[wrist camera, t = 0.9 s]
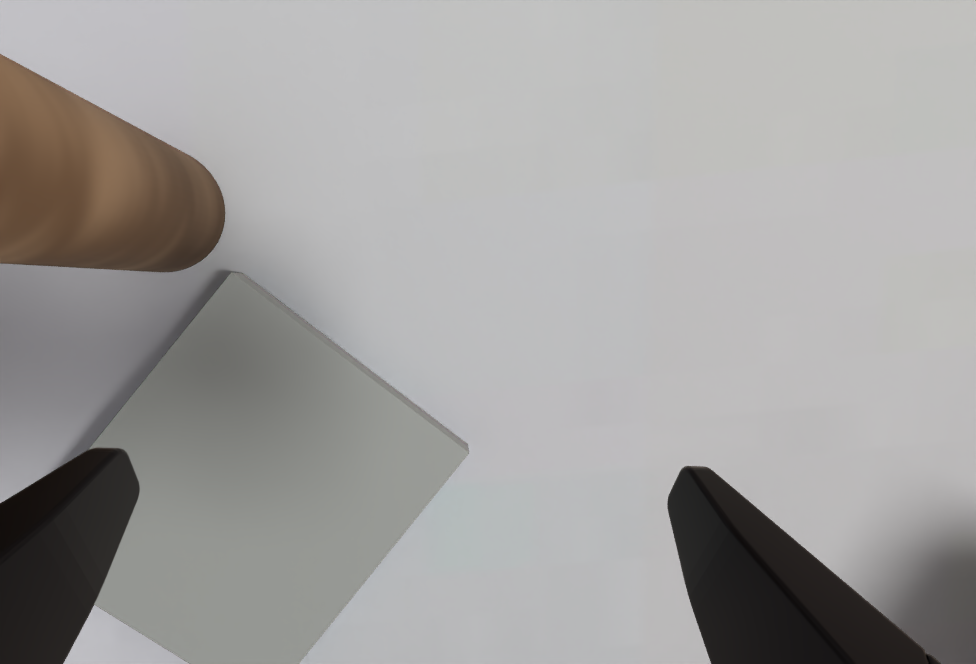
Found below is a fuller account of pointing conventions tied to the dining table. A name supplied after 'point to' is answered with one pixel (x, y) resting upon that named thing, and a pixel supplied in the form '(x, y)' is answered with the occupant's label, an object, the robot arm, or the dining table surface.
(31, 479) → the dining table surface
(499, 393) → the dining table surface
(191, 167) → the pepper mill
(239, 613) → the slate board
